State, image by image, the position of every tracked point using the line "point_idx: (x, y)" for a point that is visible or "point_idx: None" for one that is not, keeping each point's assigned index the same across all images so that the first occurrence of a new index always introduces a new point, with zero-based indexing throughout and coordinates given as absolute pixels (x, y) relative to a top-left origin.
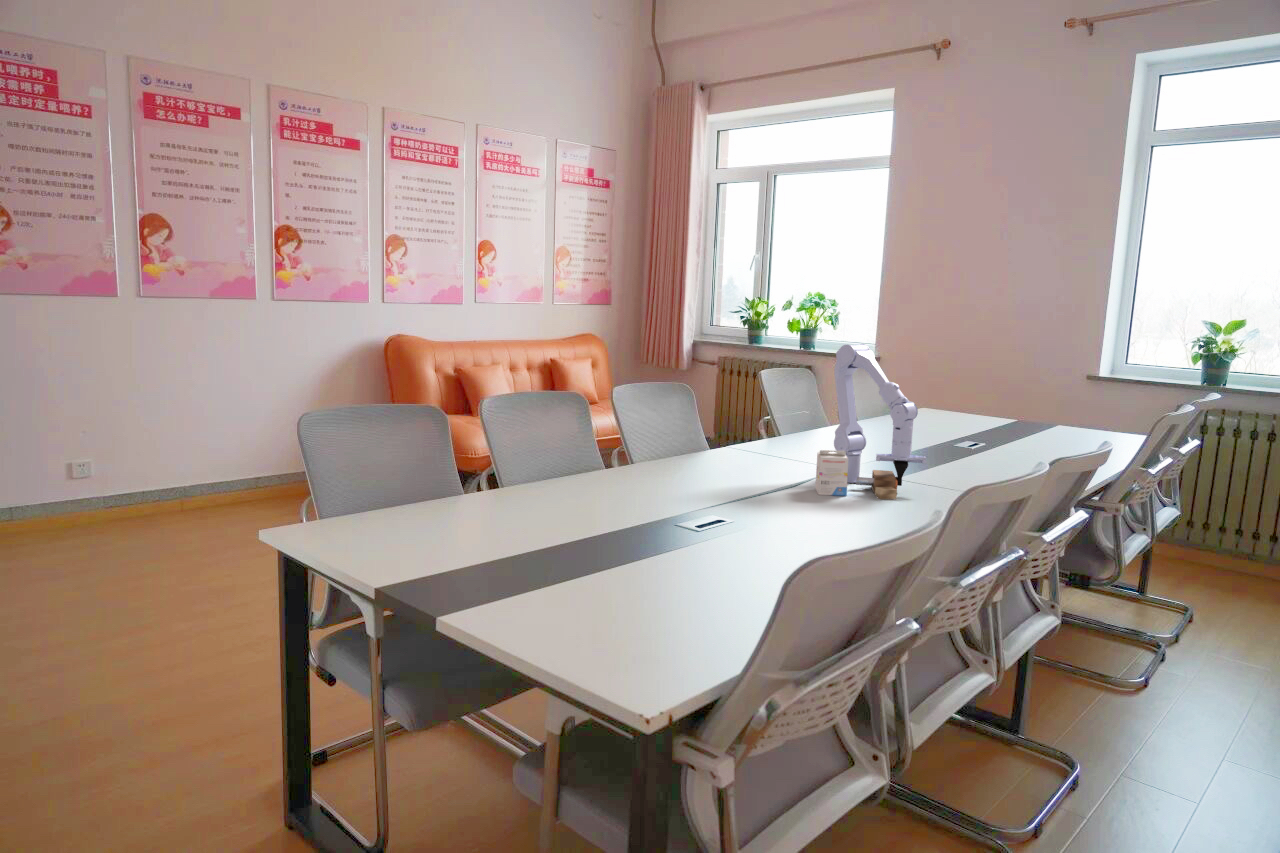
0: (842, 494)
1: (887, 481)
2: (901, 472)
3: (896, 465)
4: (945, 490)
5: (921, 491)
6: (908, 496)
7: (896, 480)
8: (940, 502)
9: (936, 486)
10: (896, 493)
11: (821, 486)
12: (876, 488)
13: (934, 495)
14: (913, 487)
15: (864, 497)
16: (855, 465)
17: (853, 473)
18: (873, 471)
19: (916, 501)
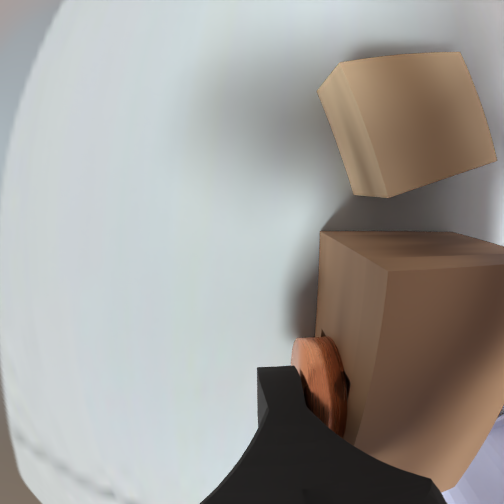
0: None
1: (441, 254)
2: (287, 448)
3: (431, 492)
4: (29, 424)
5: (116, 401)
6: (204, 219)
7: (321, 379)
8: (20, 112)
9: (79, 480)
10: (331, 75)
11: None
12: (486, 139)
13: (38, 311)
14: (169, 470)
15: (493, 115)
16: (491, 495)
17: (481, 464)
18: (477, 451)
19: (162, 61)
